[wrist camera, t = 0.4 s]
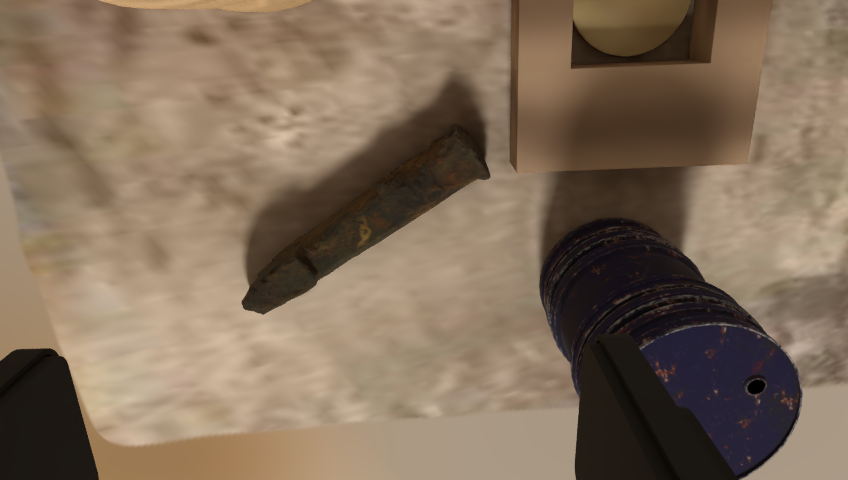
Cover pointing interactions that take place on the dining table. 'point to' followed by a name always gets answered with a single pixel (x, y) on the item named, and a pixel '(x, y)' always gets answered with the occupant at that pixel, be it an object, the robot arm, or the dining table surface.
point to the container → (212, 4)
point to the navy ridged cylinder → (674, 334)
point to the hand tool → (369, 219)
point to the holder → (634, 84)
